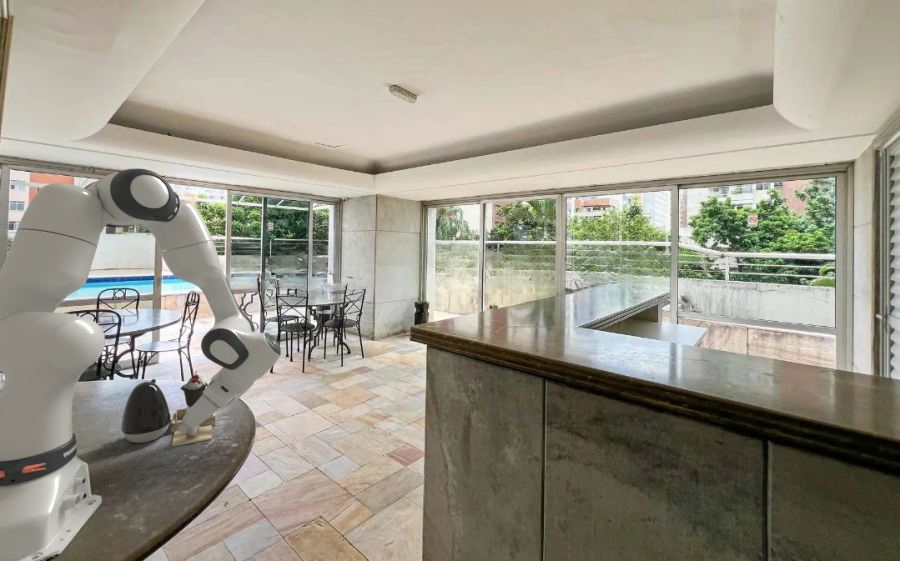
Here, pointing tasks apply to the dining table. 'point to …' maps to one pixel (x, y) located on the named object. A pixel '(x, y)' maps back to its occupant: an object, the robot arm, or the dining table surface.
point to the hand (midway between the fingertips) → (189, 421)
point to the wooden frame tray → (191, 435)
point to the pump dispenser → (145, 413)
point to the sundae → (193, 389)
